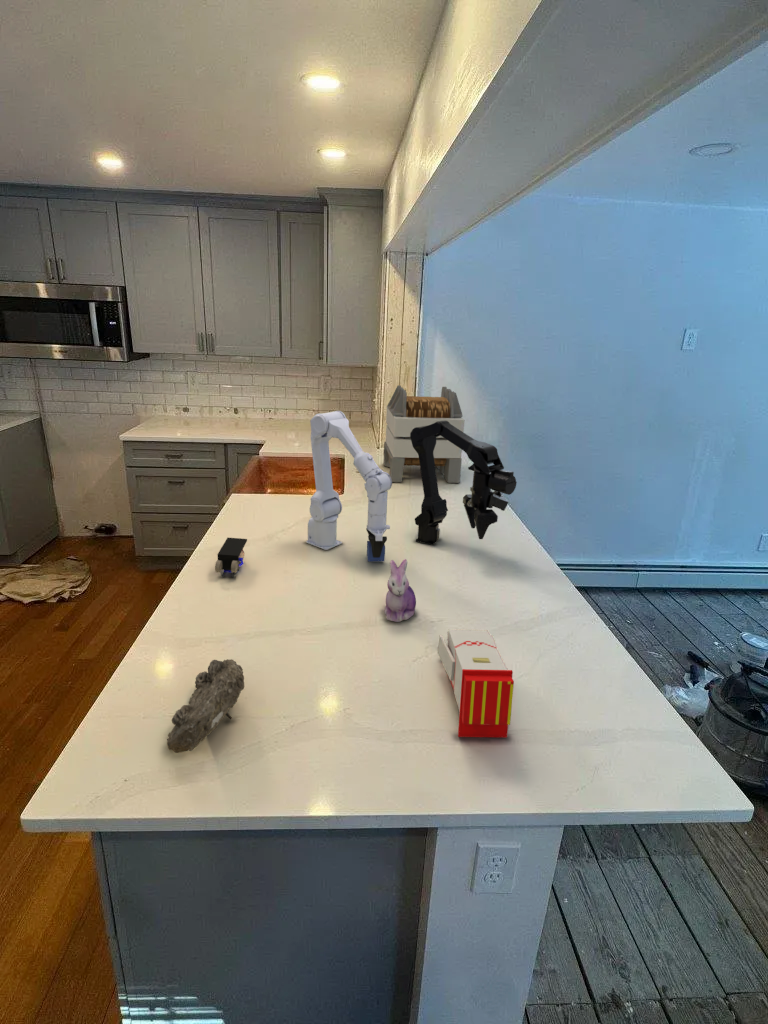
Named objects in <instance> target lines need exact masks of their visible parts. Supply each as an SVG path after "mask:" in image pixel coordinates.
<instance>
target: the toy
mask: <svg viewBox="0 0 768 1024" xmlns="http://www.w3.org/2000/svg"><path fill="white" fill-rule="evenodd" d="M446 640H447V643H446V641H445V639H444V636H443V635H442V634H439V637H438V646H437V656H438V657H439V659H440V661H441V663H442V666H443V668H444V670H445V672H446V674H447V677H448V679H449V681H450V684H451V687H452V690H453V693H454V697H455V701H456V705H457V708H458V711H459V714H458V715H459V716H458V730H457V731H458V732H457V737H458V738H508V731H509V726H510V725H511V717H512V707H513V697H514V696H513V695H514V684H515V680H514V679H513V673H514V671H513V670H512V669H508V667H507V665H506V662H505V661H504V659H503V658H502V655H501V653H500V651H499V649H498V647H497V643H496V639H495V637H494V635H493V634H491V632H490V631H489V629H467V628H466V629H465V628H463V629H461V628H460V629H459V628H448V630H447V639H446Z"/></svg>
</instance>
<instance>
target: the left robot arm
mask: <svg viewBox="0 0 768 1024" xmlns="http://www.w3.org/2000/svg"><path fill="white" fill-rule="evenodd" d="M309 422H310V447H311V454H312V464H313V474H314V475H313V476H314V482H315V483H314V484H315V492H314V493H313V494H312V496H311V497H310V505H309V506H310V507H309V514H310V518H309V519H308V522H307V540H305V543H306V544H309V545H311V546H314V547H317V548H319V549H322V550H325V551H328V550H331V549H332V548H335V547H337V546H339V545H342V544H343V541H341V540H338V537H337V536H338V533H337V532H338V519H339V515H340V514H341V513H342V510H343V504H342V502H341V499H340V494H339V493H338V492H337V491H336V490H335V489H334V484H333V476H332V475H333V474H332V464H331V454H330V440H331V439H332V438H333V439H338V440H339V442H340V443H341V445H343V446H344V448H345V449H346V450H347V451H348V452H349V454H350V455H351V456H352V458H353V463H352V464H353V466H354V467H355V468H356V471H357V472H358V473H359V474H360V476H361V477H362V479H363V480H364V489H365V491H366V497H367V503H368V504H367V524H366V528H365V530H366V532H367V534H368V535H367V539H368V541H370V543H371V547H372V554H373V558H380V556H381V552H382V548H383V546H384V544H385V545H386V542H387V540H388V536H383V535H384V534H385V532H386V531H387V530H390V529H391V525H390V524H387V515H388V496H389V495H388V494H389V490H390V489H391V488H392V486H393V482H392V480H391V477H390V473H388V472H386V471H384V470H383V469H381V468H380V467H379V465H378V464H377V463H376V461H375V459H374V457H373V455H372V454H370V453H369V452H366V451H364V450H363V448H362V447H361V445H360V443H359V442H358V440H357V438H356V436H355V435H354V433H353V431H352V430H351V428H350V421H349V419H348V418H347V417H346V415H345V413H344V412H343V411H342V410H334V411H329V412H328V411H327V412H324V413H320V412H319V413H316V414H314V415H313V417H312V418H311V419H310V421H309Z"/></svg>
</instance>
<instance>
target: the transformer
mask: <svg viewBox="0 0 768 1024" xmlns="http://www.w3.org/2000/svg"><path fill="white" fill-rule="evenodd" d="M440 393H441V394H440V396H415V395H414V396H413V395H412V396H411V395H407V394H408V393H407V390H406V389H404V388H403V387H402V385H399V384H398V385H397V386H396V388H395V390H394V392H393V394H392V395H391V398H390V400H389V402H388V404H387V405H386V413H385V414H386V415H385V423H386V428H385V438H384V442H383V466H384V467H388V468H389V475H390V477H391V480H392V483H402V482H403V475H404V469H405V466H406V467H407V466H411V467H412V466H413V467H415V466H416V467H417V466H418V467H420V462H419V456H418V453H417V452H416V451H415V449H414V448H413V445H412V442H411V438H410V433H411V431H412V430H413V429H414V428H416V427H422V426H428V425H431V424H433V423H435V422H438V421H444V420H446V421H448V422H449V423H450V424H451V425H453V426H454V427H456V428H457V429H459V430H460V431H462V432H464V431H465V430H464V429H465V419H464V418H463V411H462V408H461V405H460V402H459V398H458V395H457V392H455V391H453V390H452V389H451V388H447V386H442V387H441V392H440ZM464 433H465V432H464ZM462 453H463V450H462V449H460V448H459V447H457V446H456V445H454V444H453V443H451V442H450V441H448V440H447V439H445V438H444V437H442V436H438V437H436V445H435V448H434V451H433V455H434V462H435V467H436V468H437V470H438V469H439V473H440V474H441V475H443V478H444V479H445V481H446V482H447V483H449V484H455V483H456V484H459V483H461V472H462V461H463V460H462Z"/></svg>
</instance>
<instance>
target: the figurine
mask: <svg viewBox="0 0 768 1024" xmlns="http://www.w3.org/2000/svg"><path fill="white" fill-rule="evenodd" d="M407 567H408V559H406V558H404V559H403V560H402V561H401V563H400V565H399V566H398V565H397V563H396V562H395V561H394V560H393V559H391V560H390V561H389V570H390V576H389V578H388V579H387V589H388V591H387V592H386V594H385V595H386V596H385V607H384V615H385V616H386V620H387V621H391V622H395V623H400V622H402V621H406V620H409V619H410V618H411V617H413V616H414V615H415V610H416V606H417V597H416V593H415V591H414V590H413V587H411V586H410V582H409V579H408V577H407V574H406V571H407Z"/></svg>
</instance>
